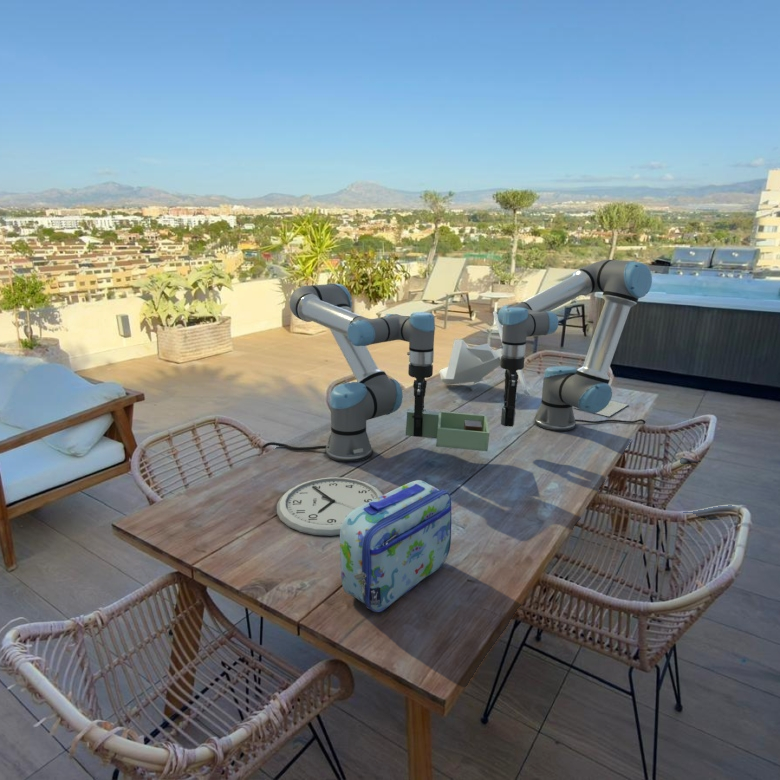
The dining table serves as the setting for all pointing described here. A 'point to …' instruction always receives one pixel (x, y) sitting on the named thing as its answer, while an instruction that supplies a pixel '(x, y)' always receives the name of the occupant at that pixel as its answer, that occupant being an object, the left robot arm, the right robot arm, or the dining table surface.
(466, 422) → the walnut block
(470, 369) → the white plastic object
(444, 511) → the lunch box
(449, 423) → the tray
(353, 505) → the wall clock
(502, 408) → the grey metal peg
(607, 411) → the invitation card
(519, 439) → the dining table surface
